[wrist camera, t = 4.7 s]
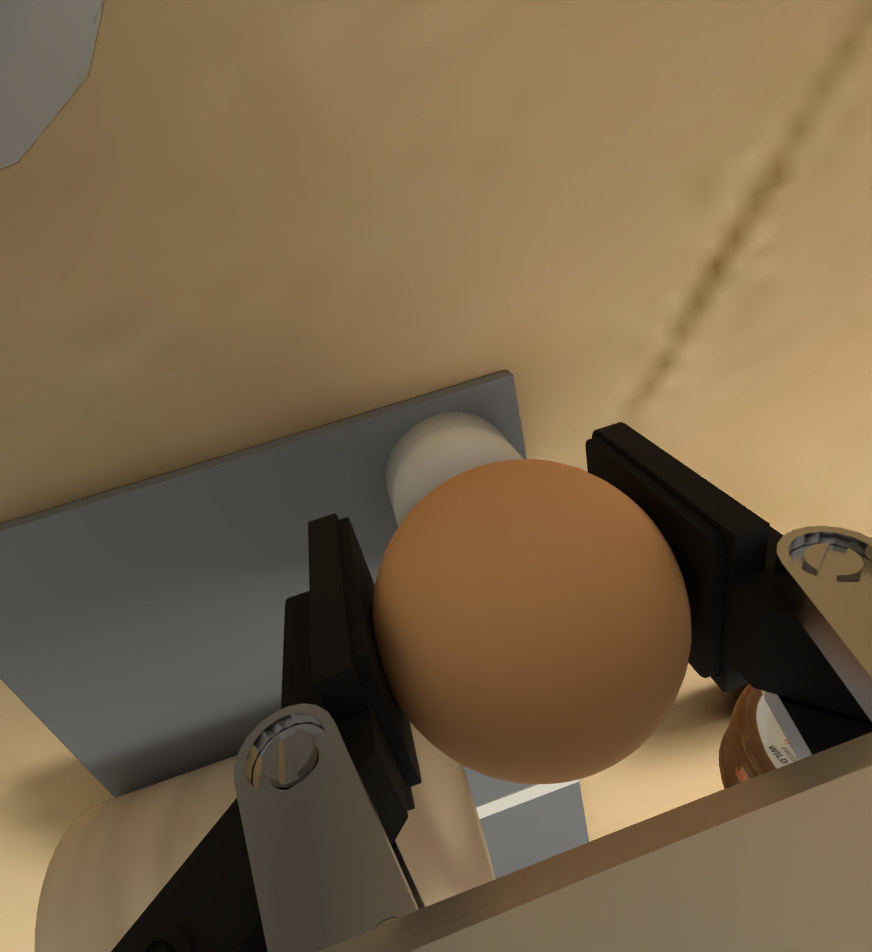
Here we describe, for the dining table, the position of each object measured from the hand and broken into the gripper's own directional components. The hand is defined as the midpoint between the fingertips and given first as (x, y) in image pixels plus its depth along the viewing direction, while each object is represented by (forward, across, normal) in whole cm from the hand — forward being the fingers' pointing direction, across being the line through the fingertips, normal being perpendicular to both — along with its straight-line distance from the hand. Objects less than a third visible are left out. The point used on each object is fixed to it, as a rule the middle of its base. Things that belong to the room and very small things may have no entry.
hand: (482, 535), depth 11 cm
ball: (-2, 0, 0) cm, 2 cm away
